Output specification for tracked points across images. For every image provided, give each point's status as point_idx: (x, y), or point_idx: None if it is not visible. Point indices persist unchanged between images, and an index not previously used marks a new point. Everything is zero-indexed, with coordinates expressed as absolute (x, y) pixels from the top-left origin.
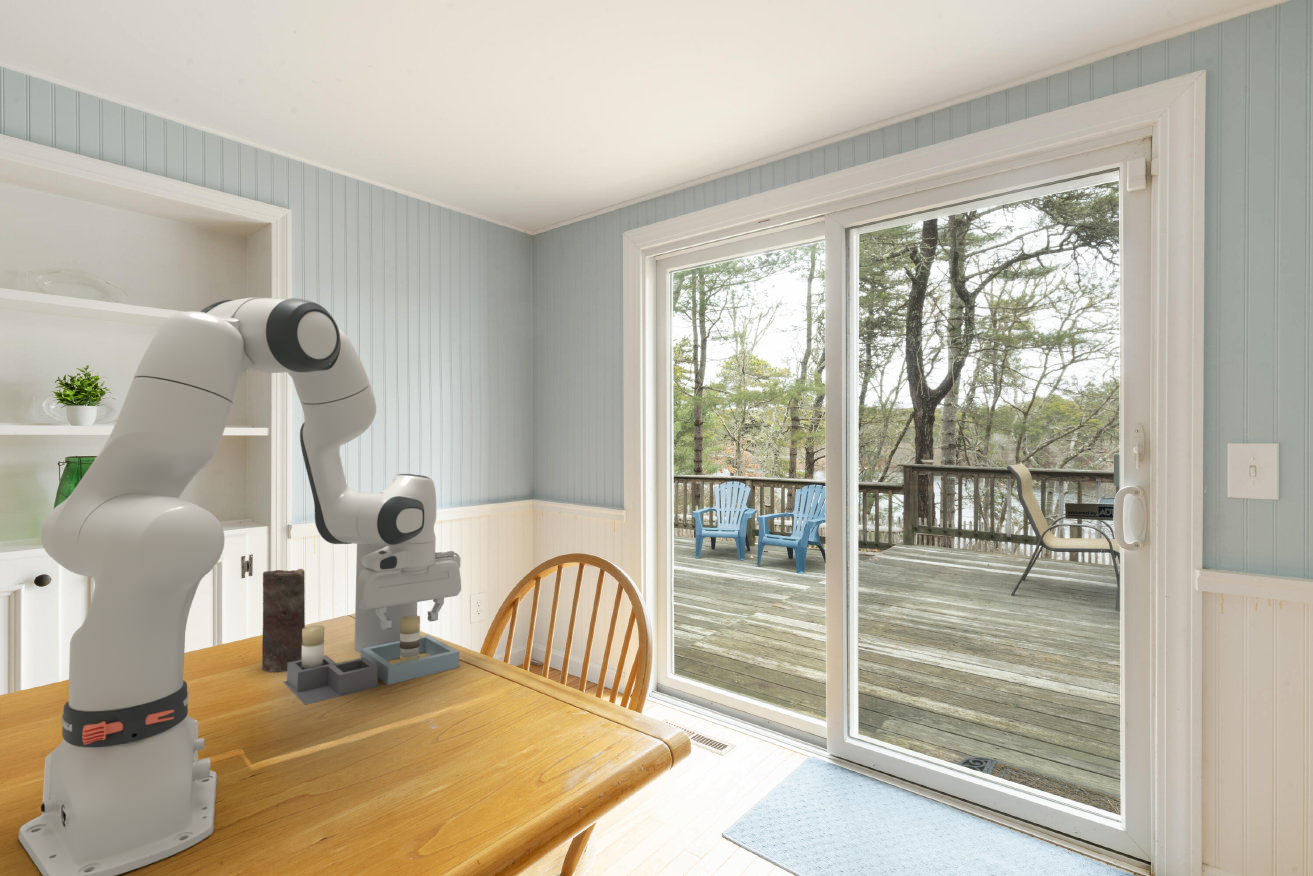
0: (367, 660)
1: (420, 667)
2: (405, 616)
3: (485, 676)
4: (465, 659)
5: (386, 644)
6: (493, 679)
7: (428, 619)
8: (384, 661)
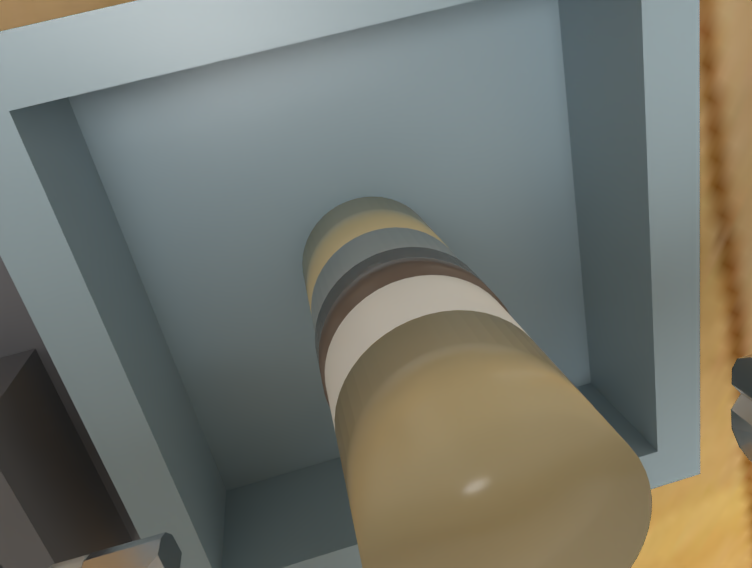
0: (14, 515)
1: None
2: (461, 461)
3: (697, 490)
4: (747, 186)
5: (206, 23)
6: (707, 535)
7: (742, 383)
8: (164, 515)
